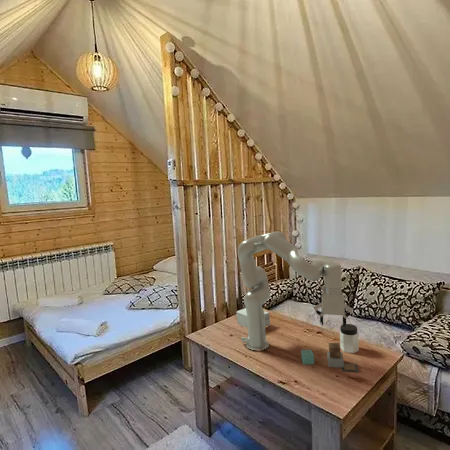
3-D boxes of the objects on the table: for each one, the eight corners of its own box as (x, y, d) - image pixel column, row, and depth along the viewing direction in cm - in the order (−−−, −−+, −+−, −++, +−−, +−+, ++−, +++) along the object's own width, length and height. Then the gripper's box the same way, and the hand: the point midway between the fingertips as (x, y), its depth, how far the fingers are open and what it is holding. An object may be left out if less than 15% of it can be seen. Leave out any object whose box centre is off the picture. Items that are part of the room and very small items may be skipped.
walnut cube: (330, 357, 155) (329, 347, 154) (329, 352, 159) (328, 342, 159) (341, 358, 153) (340, 347, 153) (340, 352, 158) (339, 342, 158)
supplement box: (236, 325, 209) (235, 311, 208) (251, 319, 217) (251, 305, 216) (255, 333, 196) (254, 318, 195) (270, 326, 204) (269, 312, 203)
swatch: (342, 371, 150) (342, 370, 150) (341, 363, 157) (341, 362, 156) (358, 372, 148) (358, 371, 148) (356, 364, 155) (356, 363, 155)
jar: (338, 345, 174) (337, 324, 172) (353, 344, 174) (352, 322, 173) (345, 354, 165) (344, 331, 163) (361, 352, 165) (360, 330, 164)
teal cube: (303, 365, 158) (303, 355, 157) (301, 359, 163) (300, 350, 162) (314, 364, 158) (313, 354, 157) (311, 359, 163) (311, 349, 162)
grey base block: (328, 367, 154) (327, 359, 154) (327, 359, 161) (327, 351, 161) (344, 367, 152) (343, 359, 152) (342, 359, 159) (342, 351, 159)
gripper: (313, 291, 152) (314, 326, 154) (353, 293, 147) (353, 329, 149) (313, 286, 159) (314, 320, 161) (351, 288, 154) (351, 322, 156)
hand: (333, 324), depth 155 cm, fingers open, 9 cm apart
